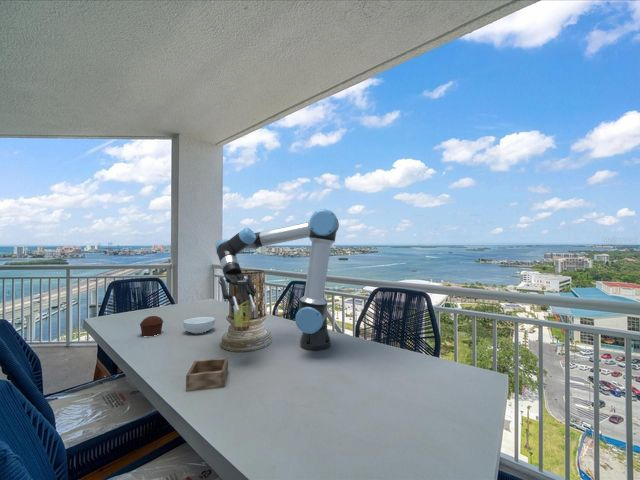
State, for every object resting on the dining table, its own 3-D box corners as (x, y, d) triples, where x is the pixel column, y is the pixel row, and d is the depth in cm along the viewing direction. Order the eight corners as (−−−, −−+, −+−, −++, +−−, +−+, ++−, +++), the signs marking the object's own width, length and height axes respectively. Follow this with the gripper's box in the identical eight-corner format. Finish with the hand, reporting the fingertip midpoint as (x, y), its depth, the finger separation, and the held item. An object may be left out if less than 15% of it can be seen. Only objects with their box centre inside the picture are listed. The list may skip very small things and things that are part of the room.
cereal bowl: (221, 330, 164) (221, 318, 164) (195, 338, 150) (195, 324, 150) (203, 326, 173) (203, 315, 173) (176, 333, 159) (177, 320, 159)
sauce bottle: (245, 332, 111) (245, 282, 112) (230, 331, 113) (230, 281, 113) (252, 327, 118) (252, 280, 118) (238, 327, 119) (238, 280, 120)
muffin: (155, 337, 151) (155, 319, 151) (134, 338, 151) (135, 319, 151) (167, 331, 163) (167, 314, 163) (148, 331, 163) (148, 314, 163)
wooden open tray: (227, 371, 108) (227, 357, 108) (224, 387, 96) (224, 371, 96) (194, 374, 105) (194, 360, 106) (185, 391, 93) (186, 375, 93)
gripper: (248, 272, 134) (264, 312, 121) (207, 274, 122) (219, 319, 109) (253, 261, 130) (270, 302, 117) (210, 262, 118) (224, 307, 105)
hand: (245, 310), depth 113 cm, fingers closed on sauce bottle, 6 cm apart
